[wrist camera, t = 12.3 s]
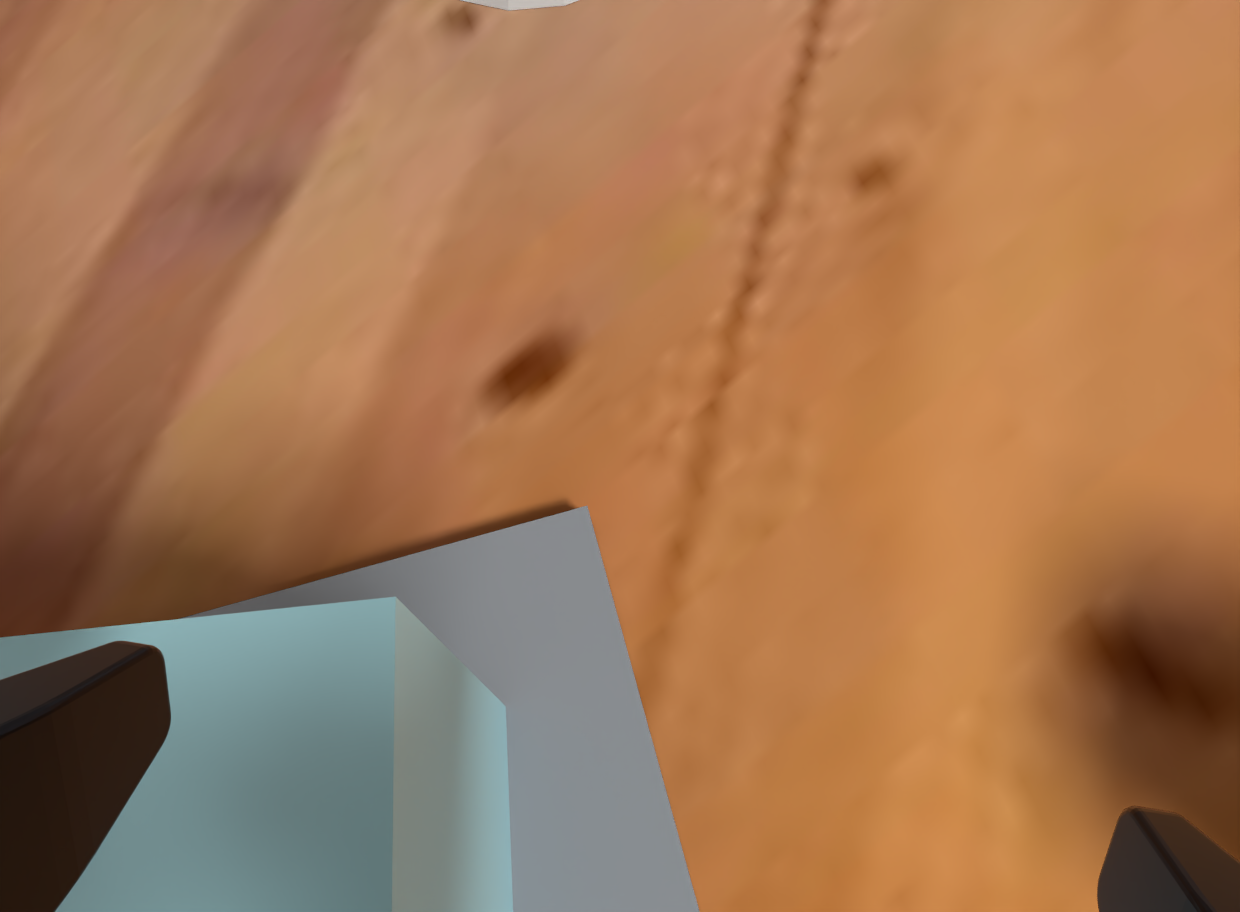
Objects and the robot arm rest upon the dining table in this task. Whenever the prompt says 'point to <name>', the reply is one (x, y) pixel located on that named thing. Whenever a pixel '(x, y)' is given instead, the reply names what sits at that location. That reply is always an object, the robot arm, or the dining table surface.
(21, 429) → the dining table surface
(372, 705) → the pale blue cube block
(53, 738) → the robot arm
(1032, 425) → the dining table surface
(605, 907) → the post board
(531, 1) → the french press
